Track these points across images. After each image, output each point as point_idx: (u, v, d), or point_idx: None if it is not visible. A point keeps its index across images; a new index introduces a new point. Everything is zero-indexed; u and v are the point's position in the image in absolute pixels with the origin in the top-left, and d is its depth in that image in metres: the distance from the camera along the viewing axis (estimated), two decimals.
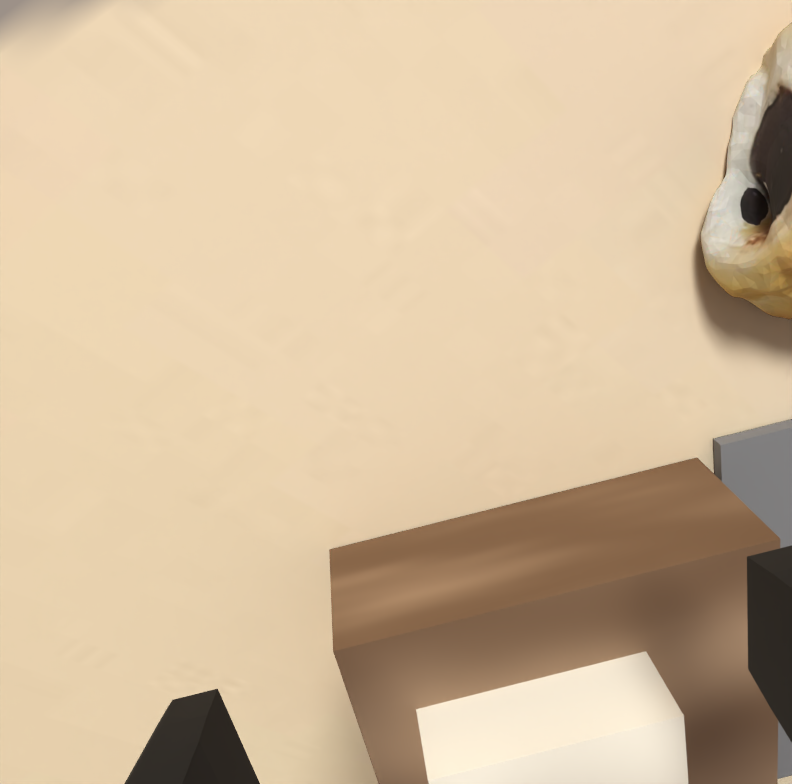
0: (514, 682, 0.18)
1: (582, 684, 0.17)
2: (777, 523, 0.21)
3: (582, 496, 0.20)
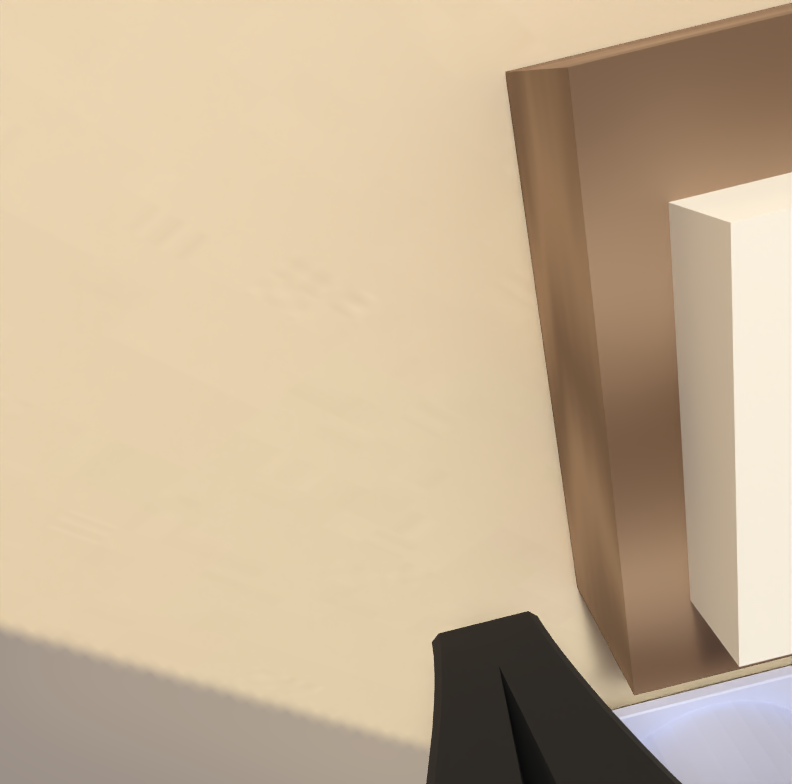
0: None
1: None
2: None
3: None
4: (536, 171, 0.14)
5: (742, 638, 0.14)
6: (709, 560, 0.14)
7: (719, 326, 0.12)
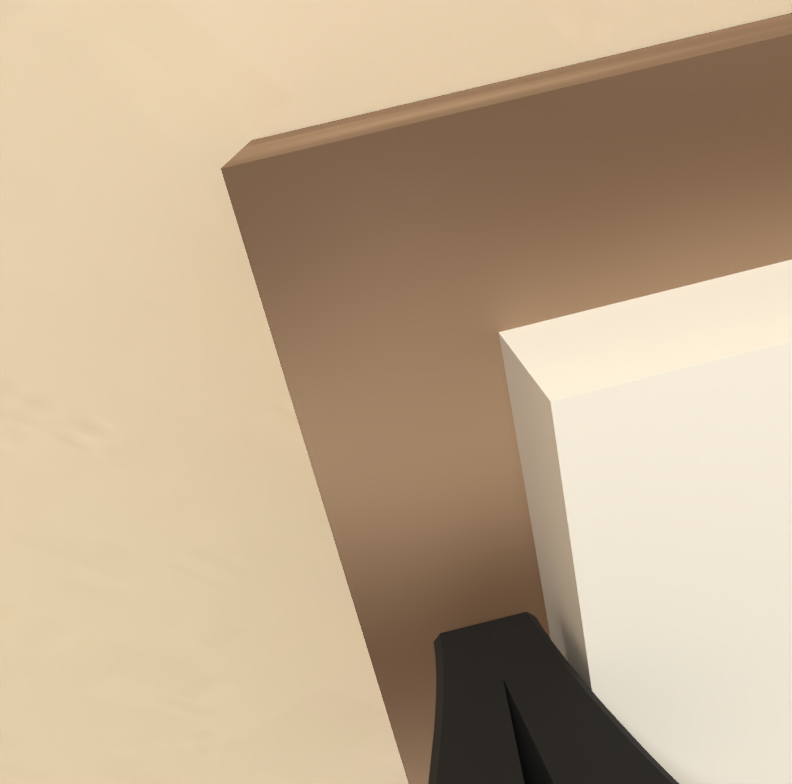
0: (620, 298, 0.08)
1: None
2: None
3: (728, 29, 0.11)
4: None
5: None
6: None
7: (560, 530, 0.08)
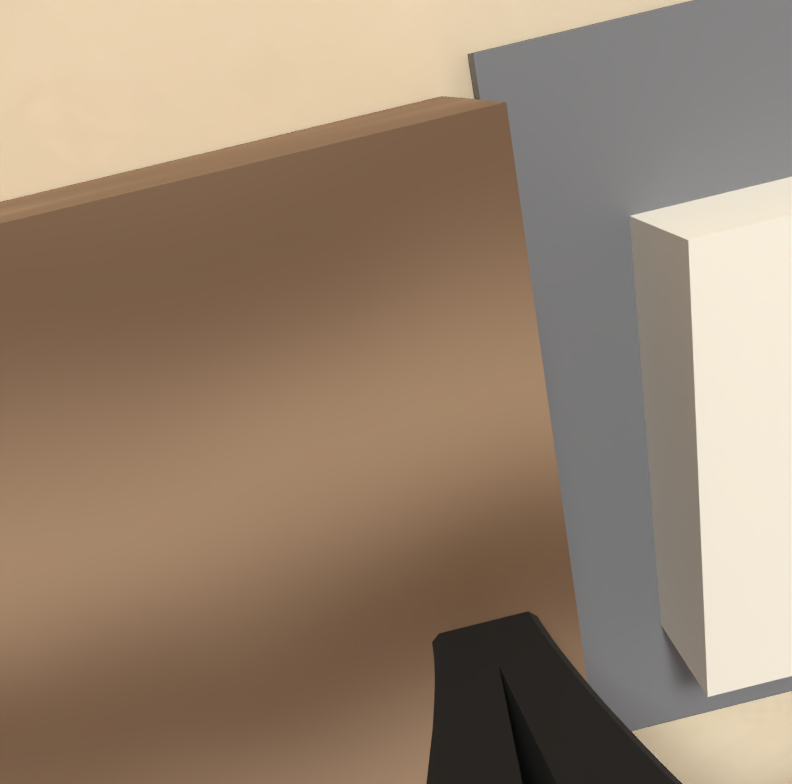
0: None
1: None
2: (603, 240, 0.12)
3: (212, 153, 0.11)
4: None
5: None
6: None
7: None
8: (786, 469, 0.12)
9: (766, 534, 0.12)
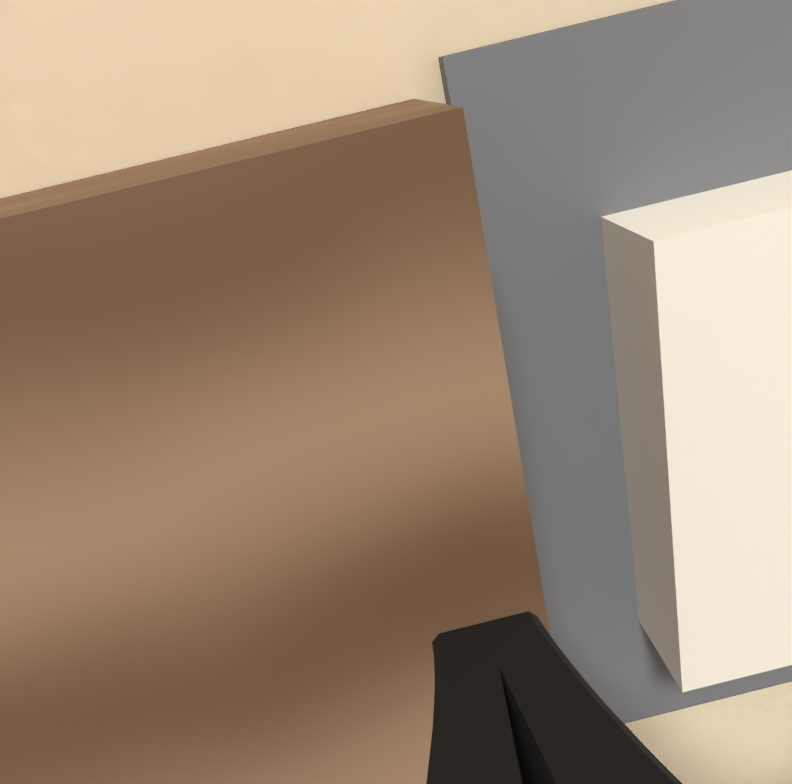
0: None
1: (758, 204, 0.10)
2: (575, 240, 0.12)
3: (186, 155, 0.11)
4: None
5: None
6: None
7: None
8: (755, 467, 0.12)
9: (737, 531, 0.12)
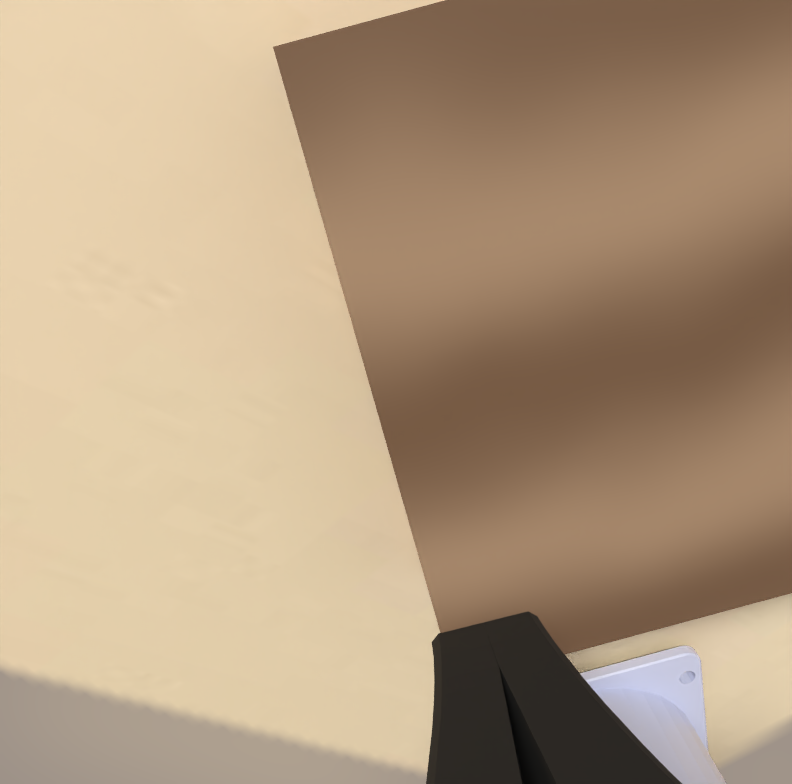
0: (548, 139, 0.12)
1: None
2: None
3: None
4: None
5: None
6: None
7: None
8: None
9: None
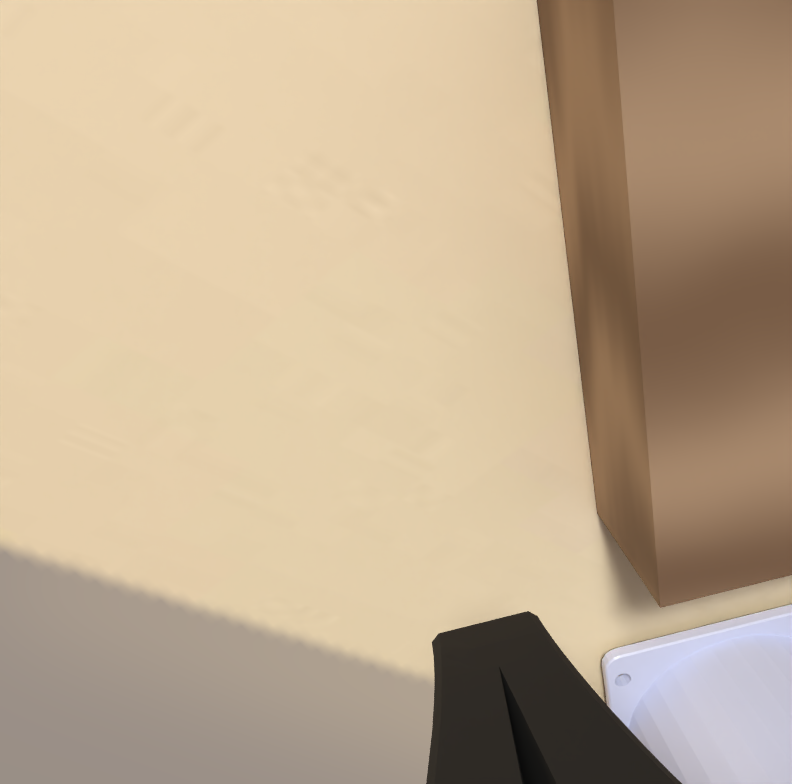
0: None
1: None
2: None
3: None
4: (564, 51, 0.14)
5: None
6: None
7: None
8: None
9: None
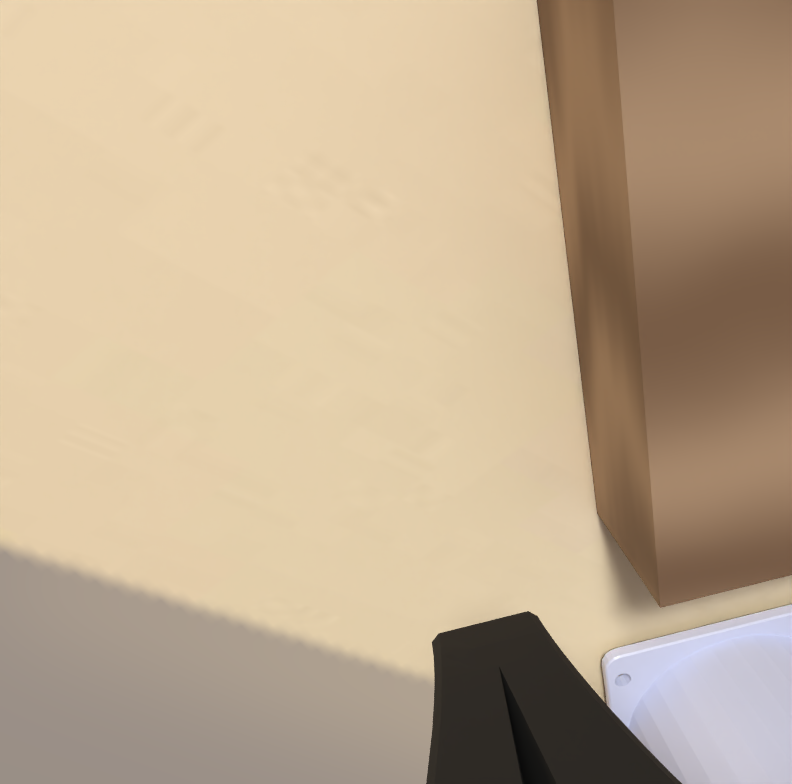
0: None
1: None
2: None
3: None
4: (564, 51, 0.14)
5: None
6: None
7: None
8: None
9: None
